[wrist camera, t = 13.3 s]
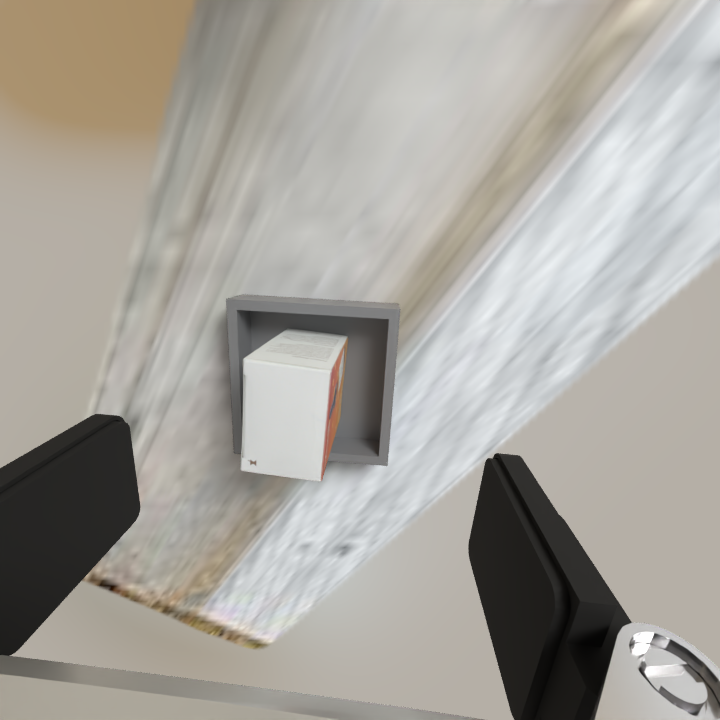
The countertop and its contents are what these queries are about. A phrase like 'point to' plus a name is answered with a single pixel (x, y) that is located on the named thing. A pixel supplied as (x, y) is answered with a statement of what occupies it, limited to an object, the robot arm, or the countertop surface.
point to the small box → (292, 403)
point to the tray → (362, 369)
